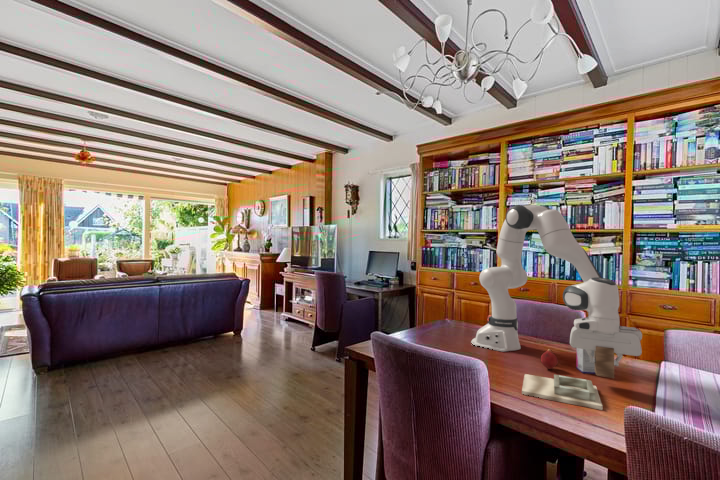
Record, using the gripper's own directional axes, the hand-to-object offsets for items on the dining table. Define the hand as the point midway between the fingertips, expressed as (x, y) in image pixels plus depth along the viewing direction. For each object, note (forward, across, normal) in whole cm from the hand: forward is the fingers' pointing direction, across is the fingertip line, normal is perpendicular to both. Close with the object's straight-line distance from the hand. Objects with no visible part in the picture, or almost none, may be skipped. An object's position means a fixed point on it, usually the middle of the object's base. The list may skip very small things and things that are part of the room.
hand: (604, 363), depth 116 cm
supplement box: (+8, +4, -14) cm, 17 cm away
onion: (+8, +17, -9) cm, 21 cm away
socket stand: (+8, +14, +12) cm, 20 cm away
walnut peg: (+4, 0, 0) cm, 4 cm away
